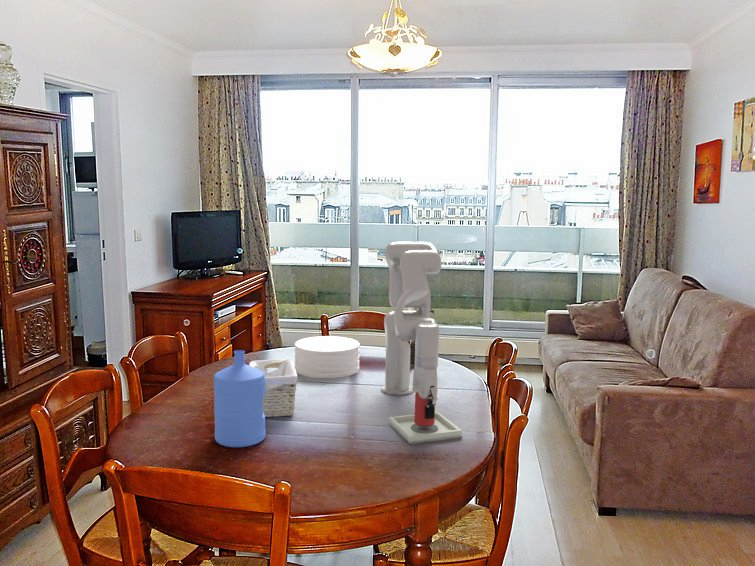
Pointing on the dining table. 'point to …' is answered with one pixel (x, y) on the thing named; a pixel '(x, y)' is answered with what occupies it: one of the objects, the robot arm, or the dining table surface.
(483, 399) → the dining table surface
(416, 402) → the beer can
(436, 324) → the robot arm
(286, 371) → the storage basket
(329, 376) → the plate stack
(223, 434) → the water jug
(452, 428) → the coaster tray
